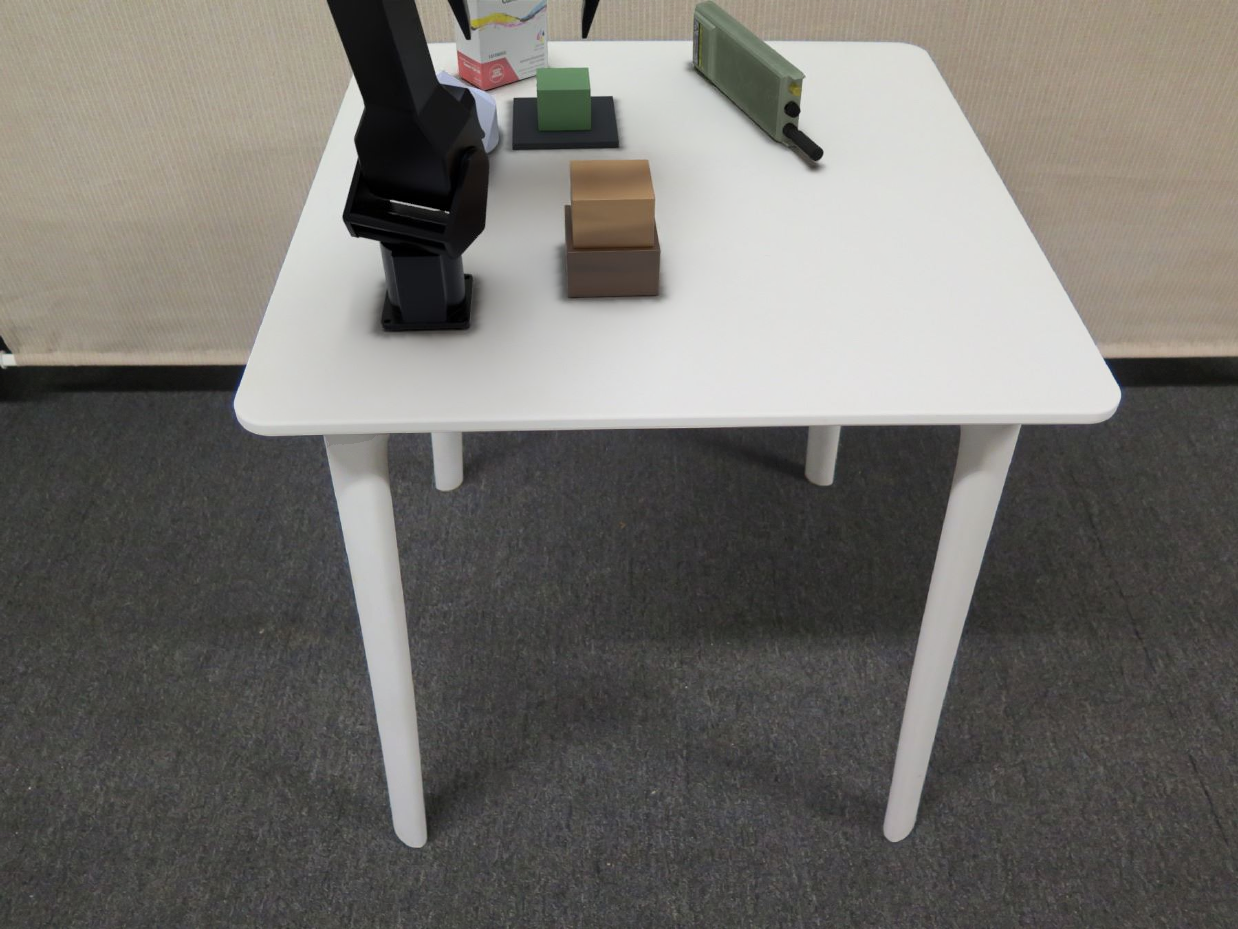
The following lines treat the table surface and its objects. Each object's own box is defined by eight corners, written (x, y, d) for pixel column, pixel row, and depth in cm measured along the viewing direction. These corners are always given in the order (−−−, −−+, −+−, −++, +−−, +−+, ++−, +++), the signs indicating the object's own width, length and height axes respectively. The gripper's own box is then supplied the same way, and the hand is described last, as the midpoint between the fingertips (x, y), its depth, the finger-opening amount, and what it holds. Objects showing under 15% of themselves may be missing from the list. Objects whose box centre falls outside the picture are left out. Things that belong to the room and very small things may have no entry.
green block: (591, 130, 97) (590, 89, 94) (538, 131, 96) (536, 89, 94) (588, 107, 100) (588, 67, 98) (538, 108, 100) (536, 67, 97)
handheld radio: (716, 61, 110) (833, 164, 93) (688, 67, 109) (801, 172, 93) (718, -2, 105) (842, 94, 89) (689, 3, 105) (809, 101, 88)
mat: (618, 147, 96) (618, 141, 95) (512, 149, 95) (512, 143, 95) (612, 101, 103) (612, 95, 102) (513, 102, 102) (513, 97, 102)
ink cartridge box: (484, 92, 104) (471, -63, 94) (457, 77, 107) (442, -76, 96) (551, 71, 108) (546, -80, 98) (524, 56, 111) (516, -92, 100)
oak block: (653, 246, 76) (655, 198, 73) (573, 248, 75) (572, 200, 72) (646, 205, 80) (648, 158, 77) (570, 207, 80) (569, 160, 77)
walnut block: (658, 295, 78) (660, 250, 75) (567, 297, 78) (566, 252, 75) (650, 246, 83) (652, 202, 80) (565, 248, 83) (564, 204, 80)
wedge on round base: (489, 185, 90) (503, 119, 99) (482, 112, 85) (498, 50, 95) (387, 183, 90) (411, 117, 99) (376, 110, 85) (401, 49, 95)
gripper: (640, -215, 77) (635, -1, 87) (390, -215, 76) (417, 2, 86) (652, -181, 69) (645, 51, 79) (374, -180, 68) (405, 54, 78)
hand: (526, 37), depth 81 cm, fingers open, 9 cm apart
